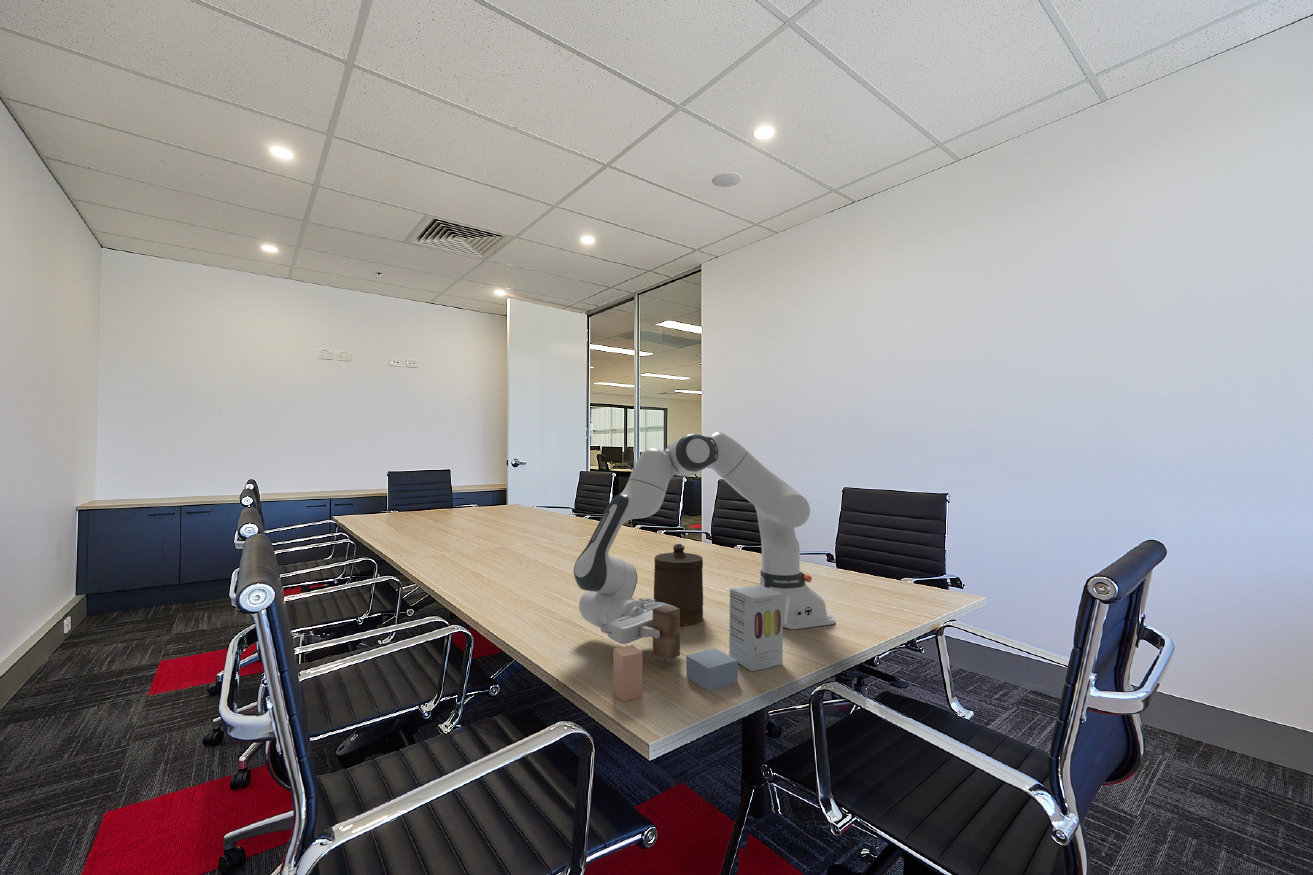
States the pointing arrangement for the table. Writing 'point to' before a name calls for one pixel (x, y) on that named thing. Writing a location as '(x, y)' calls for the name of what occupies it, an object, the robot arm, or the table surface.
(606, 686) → the table surface
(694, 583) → the wooden container
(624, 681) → the terracotta post
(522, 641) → the table surface
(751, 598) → the supplement box
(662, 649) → the walnut post
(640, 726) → the table surface
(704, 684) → the slate block
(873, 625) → the table surface
